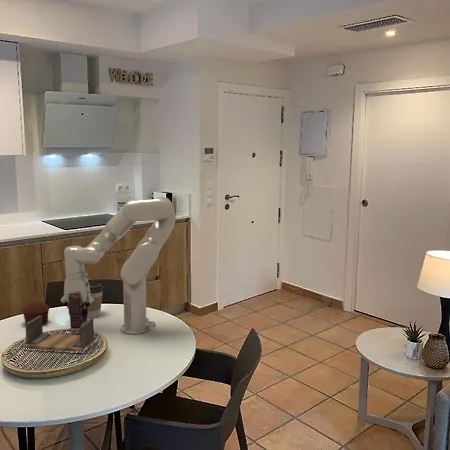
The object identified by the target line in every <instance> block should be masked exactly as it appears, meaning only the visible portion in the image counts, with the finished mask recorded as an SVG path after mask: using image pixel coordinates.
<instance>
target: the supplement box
mask: <svg viewBox="0 0 450 450" xmlns="http://www.w3.org/2000/svg"><path fill="white" fill-rule="evenodd" d="M68 296H69V309H68V311H69V310H70V315H69V321H70V323H69V324H70V331H79V327H80V326H82V325H83V324H84V323H85V322H87V321H88V318H87V316H86V317H85V318H83V315H82V309H83V306H82V302H81V296H80V293H69V294H68Z"/></svg>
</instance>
